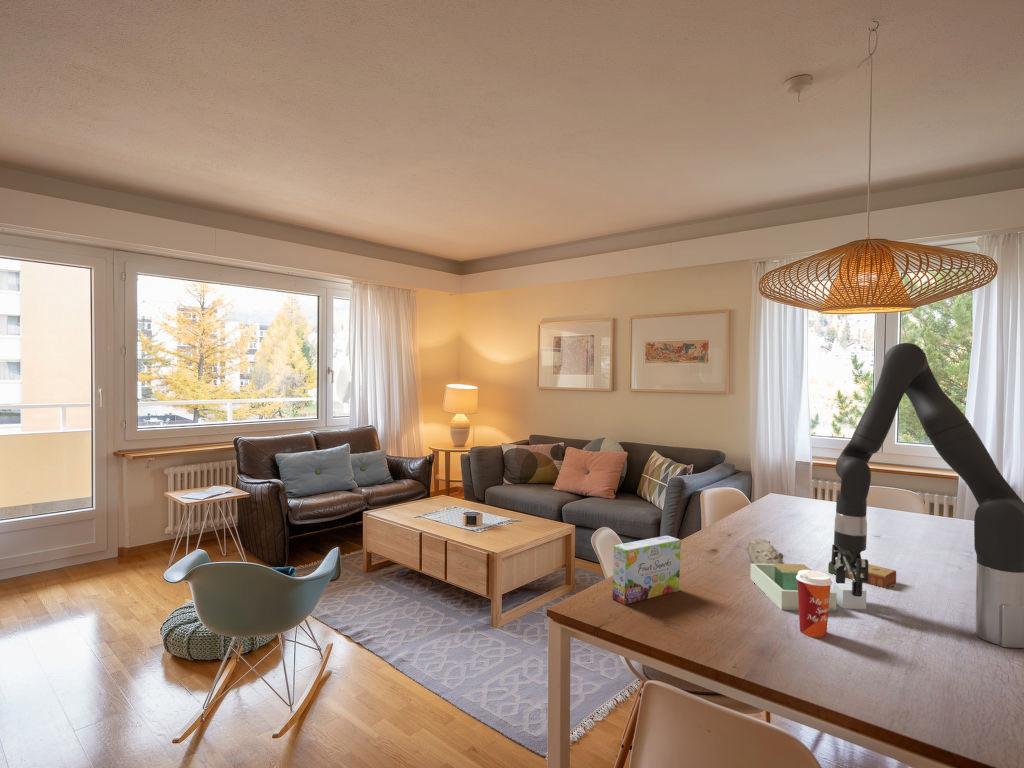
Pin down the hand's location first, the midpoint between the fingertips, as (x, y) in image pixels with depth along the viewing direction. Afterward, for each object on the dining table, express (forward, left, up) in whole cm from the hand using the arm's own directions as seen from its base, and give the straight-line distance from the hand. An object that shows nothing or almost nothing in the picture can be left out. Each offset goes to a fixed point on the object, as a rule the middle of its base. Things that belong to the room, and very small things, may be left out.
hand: (848, 589), depth 152 cm
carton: (+21, -15, -4) cm, 26 cm away
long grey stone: (+37, +8, -4) cm, 38 cm away
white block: (-1, 0, -4) cm, 4 cm away
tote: (+5, +13, -4) cm, 15 cm away
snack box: (+2, +54, -4) cm, 54 cm away
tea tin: (+5, +12, -3) cm, 14 cm away
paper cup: (-19, +18, -4) cm, 26 cm away
